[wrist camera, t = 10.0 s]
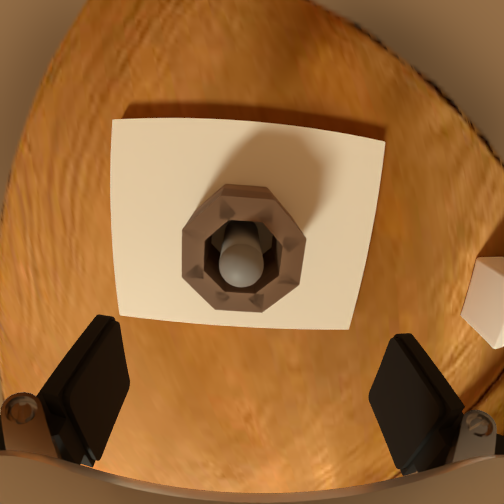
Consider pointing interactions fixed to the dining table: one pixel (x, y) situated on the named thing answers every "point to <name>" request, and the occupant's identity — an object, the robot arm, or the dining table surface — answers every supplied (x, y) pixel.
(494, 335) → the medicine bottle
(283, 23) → the dining table surface
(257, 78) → the dining table surface
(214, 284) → the walnut bead
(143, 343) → the dining table surface
